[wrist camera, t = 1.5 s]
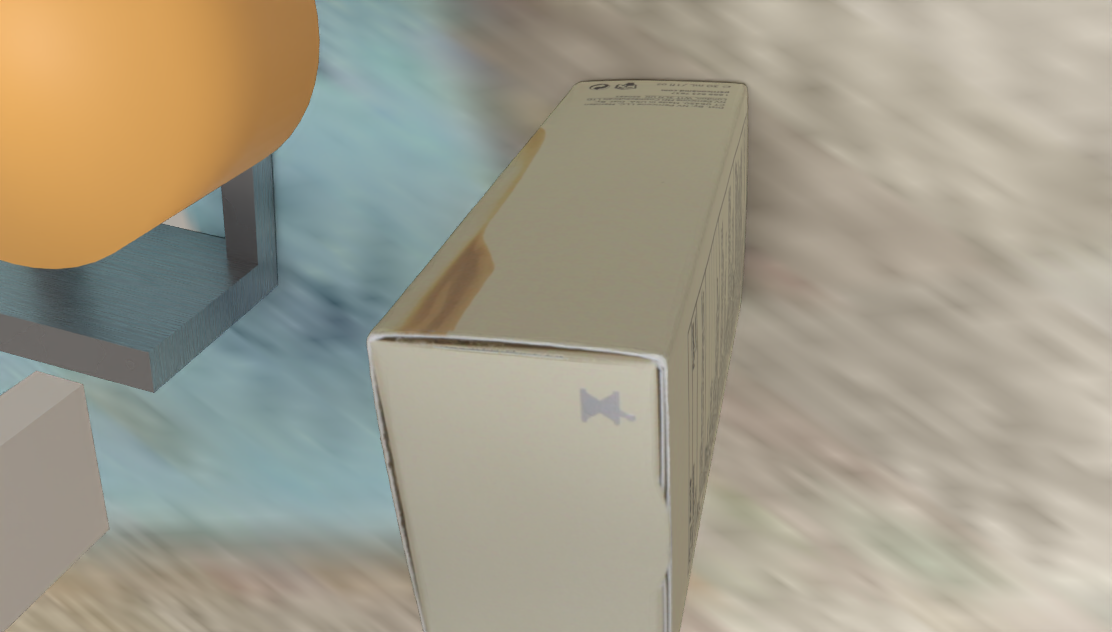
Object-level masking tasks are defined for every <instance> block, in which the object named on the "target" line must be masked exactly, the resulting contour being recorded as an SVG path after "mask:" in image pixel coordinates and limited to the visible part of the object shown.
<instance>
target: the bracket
mask: <svg viewBox="0 0 1112 632" xmlns="http://www.w3.org/2000/svg"><path fill="white" fill-rule="evenodd" d="M221 189H222V201H223V214H224V227H225V238H220V237H216V236H212V235H208V234H203V233H199V232H195V231H191V230H187V229H182V228H178V227H174V226H170V225H165V224H160V225H158V226H156V227H155V228H153V229H152V230H150V231H148V232H147V233H145V234H144V235H142V236H140V237H139V238H137V239H136V240H134V241H132V242H131V243H129V244H128V245H126V246H124V247H123V248H121V249H120V250H118V251H116V252H115V253H113V254H111V255H109V256H107V257H105V258H103V259H101V260H99V261H97V262H94V263H90V264H86V265H82V266H79V267H73V268H62V269H44V268H32V267H27V266H22V265H16V264H12V263H9V262H5V261H2V260H0V351H3V352H6V353H10V354H14V355H17V356H21V357H25V358H28V359H32V360H36V361H39V362H43V363H47V364H50V365H54V366H58V367H61V368H65V369H69V370H72V371H76V372H80V373H83V374H87V375H91V376H95V377H98V378H102V379H106V380H109V381H113V382H117V383H120V384H124V385H128V386H131V387H135V388H139V389H142V390H146V391H150V392H153V393H154V392H156V391H157V390H158V389H159V388H160V387H161V386H163V385H164V384H165V383H166V382H167V381H168V380H169V379H171V378H172V377H173V376H174V375H175V374H176V373H178V372H179V371H180V370H181V369H182V368H183V367H184V366H186V365H187V364H188V363H189V362H190V361H191V360H193V359H194V358H195V357H196V356H197V355H198V354H199V353H201V352H202V351H203V350H204V349H205V348H206V347H208V346H209V345H210V344H211V343H212V342H213V341H215V340H216V339H217V338H218V337H219V336H220V335H221V334H223V333H224V332H225V331H226V330H227V329H228V328H230V327H231V326H232V325H233V324H234V323H235V322H236V321H238V320H239V319H240V318H241V317H242V316H243V315H245V314H246V313H247V312H248V311H249V310H250V309H251V308H253V307H254V306H255V305H256V304H257V303H258V302H260V301H261V300H262V299H263V298H264V297H265V296H266V295H268V294H269V293H270V292H271V291H272V290H273V289H275V288H276V287H277V286H278V282H277V261H276V240H275V219H274V198H273V177H272V156H271V154H270V155H269V156H267V157H266V158H265V159H263V160H262V161H260V162H259V163H257V164H255V165H254V166H252V167H251V168H249V169H247V170H246V171H244V172H243V173H241V174H239V175H238V176H236V177H235V178H233V179H231V180H230V181H228V182H227V183H225V184H223V185H222V186H221Z"/></svg>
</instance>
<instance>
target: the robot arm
mask: <svg viewBox="0 0 1112 632" xmlns="http://www.w3.org/2000/svg"><path fill="white" fill-rule="evenodd" d="M108 530H109V524H108V518H107V513H106V507H105V502H104V496H103V491H102V485H101V480H100V474H99V469H98V463H97V458H96V452H95V447H94V442H93V436H92V431H91V425H90V420H89V414H88V409H87V403H86V398H85V392H84V387H83V384H81V383H77V382H74V381H70V380H67V379H63V378H60V377H56V376H53V375H49V374H46V373H42V372H39V371H35V372H34V373H32V374H31V375H29V376H28V377H27V378H25V379H24V380H22V381H21V382H19V383H18V384H16V385H15V386H14V387H12V388H11V389H9V390H8V391H6V392H5V393H4V394H2V395H1V396H0V632H4V631H5V630H6V629H7V628H8V627H9V626H10V625H11V624H12V623H13V622H14V621H15V620H16V619H17V618H18V617H20V616H21V615H22V614H23V613H24V612H25V611H26V610H27V609H28V608H29V607H30V606H31V605H32V604H33V603H34V602H35V601H36V600H37V599H38V598H39V597H40V596H41V595H42V594H43V593H44V592H45V591H46V590H47V589H48V588H49V587H50V586H51V585H52V584H53V583H54V582H55V581H57V580H58V579H59V578H60V577H61V576H62V575H63V574H64V573H65V572H66V571H67V570H68V569H69V568H70V567H71V566H72V565H73V564H74V563H75V562H76V561H77V560H78V559H79V558H80V557H81V556H82V555H83V554H84V553H85V552H86V551H87V550H88V549H89V548H90V547H91V546H92V545H94V544H95V543H96V542H97V541H98V540H99V539H100V538H101V537H102V536H103V535H104V534H105V533H106V532H107V531H108Z"/></svg>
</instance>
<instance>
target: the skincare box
mask: <svg viewBox="0 0 1112 632" xmlns="http://www.w3.org/2000/svg"><path fill="white" fill-rule="evenodd" d="M747 154H748V99H747V87H746V86H745V85H743V84H738V83H714V82H689V81H650V80H626V81H591V82H579V83H577V84H575V86H574V87H573V88H572V89H571V90H570V91H569V93H568V94H567V95H566V96H565V98H564V99H563V100H562V101H561V102H560V103H559V105H558V106H557V107H556V108H555V109H554V111H553V112H552V113H551V114H550V115H549V117H548V118H547V119H546V120H545V121H544V123H543V124H542V125H541V126H540V128H539V129H538V130H537V132H536V133H535V134H534V135H533V136H532V137H531V139H530V140H529V141H528V143H527V144H526V145H525V146H524V147H523V149H522V150H521V151H520V152H519V153H518V155H517V156H516V157H515V158H514V159H513V160H512V161H511V163H510V164H509V165H508V167H507V168H506V169H505V170H504V171H503V172H502V174H501V175H500V176H499V177H498V178H497V180H496V181H495V182H494V183H493V185H492V186H491V187H490V188H489V190H488V191H487V192H486V193H485V194H484V196H483V197H482V198H481V199H480V201H479V202H478V203H477V204H476V205H475V206H474V208H473V209H472V210H471V211H470V212H469V214H468V215H467V216H466V217H465V218H464V220H463V221H462V222H461V223H460V225H459V226H458V227H457V228H456V230H455V231H454V232H453V233H452V234H451V236H450V237H449V238H448V239H447V241H446V242H445V243H444V244H443V246H442V247H441V248H440V249H439V251H438V252H437V253H436V254H435V255H434V257H433V258H432V259H431V260H430V261H429V263H428V264H427V265H426V266H425V268H424V269H423V270H422V271H421V272H420V273H419V275H418V276H417V277H416V278H415V280H414V281H413V282H412V283H411V284H410V285H409V287H408V288H407V289H406V290H405V291H404V293H403V294H402V295H401V297H400V298H399V299H398V300H397V302H396V303H395V304H394V305H393V306H392V308H391V309H390V310H389V311H388V312H387V314H386V315H385V316H384V317H383V318H382V319H381V320H380V322H379V323H378V324H377V325H376V326H375V327H374V328H373V329H372V331H371V332H370V334H369V335H368V337H367V351H368V357H369V366H370V377H371V382H372V388H373V395H374V403H375V409H376V413H377V420H378V426H379V431H380V440H381V444H382V448H383V453H384V458H385V463H386V468H387V472H388V476H389V482H390V488H391V492H392V497H393V502H394V506H395V511H396V516H397V521H398V525H399V530H400V535H401V539H402V544H403V547H404V552H405V557H406V562H407V566H408V570H409V574H410V578H411V582H412V586H413V591H414V595H415V599H416V602H417V606H418V610H419V615H420V619H421V623H422V628H423V631H424V632H680V627H681V622H682V616H683V611H684V606H685V600H686V595H687V590H688V584H689V579H690V573H691V568H692V563H693V557H694V552H695V546H696V541H697V536H698V530H699V525H700V519H701V514H702V509H703V503H704V498H705V492H706V487H707V482H708V476H709V471H710V466H711V460H712V455H713V449H714V444H715V439H716V433H717V428H718V423H719V417H720V412H721V406H722V401H723V396H724V390H725V385H726V380H727V374H728V369H729V364H730V358H731V353H732V348H733V343H734V337H735V332H736V327H737V321H738V316H739V311H740V306H741V296H742V283H743V269H744V252H745V230H746V199H747Z"/></svg>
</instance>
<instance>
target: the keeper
mask: <svg viewBox="0 0 1112 632" xmlns="http://www.w3.org/2000/svg"><path fill="white" fill-rule="evenodd" d="M318 63H319V27H318V15H317V10H316V5H315V0H0V260H2V261H5V262H9V263H12V264H16V265H22V266H27V267H32V268H44V269H62V268H73V267H79V266H82V265H86V264H90V263H94V262H97V261H99V260H101V259H103V258H105V257H107V256H109V255H111V254H113V253H115V252H116V251H118V250H120V249H121V248H123V247H124V246H126V245H128V244H129V243H131V242H132V241H134V240H136V239H137V238H139V237H140V236H142V235H144V234H145V233H147V232H148V231H150V230H152V229H153V228H155V227H156V226H158V225H160V224H161V223H163V222H164V221H166V220H167V219H169V218H171V217H172V216H174V215H176V214H177V213H179V212H180V211H182V210H184V209H185V208H187V207H188V206H190V205H192V204H193V203H195V202H196V201H198V200H199V199H201V198H203V197H204V196H206V195H207V194H209V193H211V192H212V191H214V190H215V189H217V188H219V187H220V186H222V185H223V184H225V183H227V182H228V181H230V180H231V179H233V178H235V177H236V176H238V175H239V174H241V173H243V172H244V171H246V170H247V169H249V168H251V167H252V166H254V165H255V164H257V163H259V162H260V161H262V160H263V159H265V158H266V157H267V156H269V155H270V154H272V153H273V152H274V151H276V150H277V149H278V148H279V147H280V146H281V145H282V144H283V143H284V142H285V141H286V140H287V139H288V138H289V137H290V135H291V134H292V133H293V131H294V130H295V128H296V127H297V125H298V124H299V123H300V121H301V119H302V117H303V115H304V113H305V111H306V109H307V107H308V104H309V101H310V98H311V95H312V92H313V89H314V86H315V81H316V75H317V69H318Z"/></svg>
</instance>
